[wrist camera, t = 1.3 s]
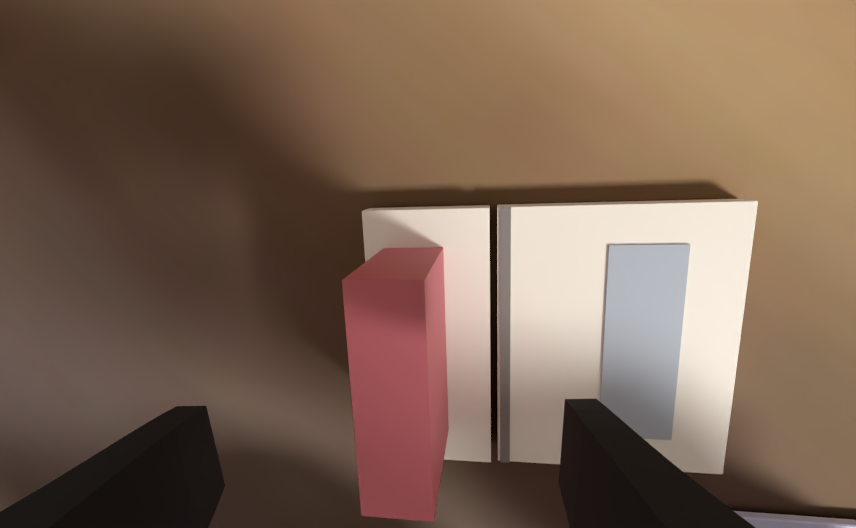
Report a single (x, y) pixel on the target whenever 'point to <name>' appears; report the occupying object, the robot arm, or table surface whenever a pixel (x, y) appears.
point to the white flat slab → (621, 321)
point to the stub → (418, 353)
